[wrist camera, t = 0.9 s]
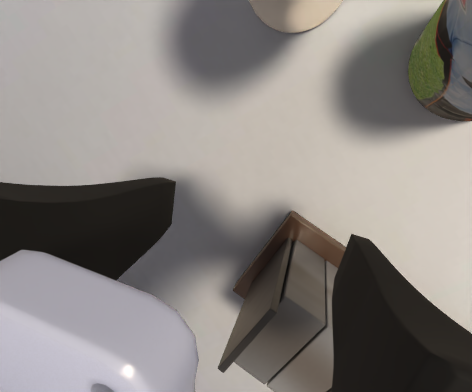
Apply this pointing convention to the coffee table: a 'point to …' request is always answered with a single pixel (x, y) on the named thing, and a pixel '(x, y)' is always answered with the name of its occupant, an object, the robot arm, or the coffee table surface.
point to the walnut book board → (288, 310)
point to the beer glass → (294, 13)
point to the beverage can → (445, 62)
